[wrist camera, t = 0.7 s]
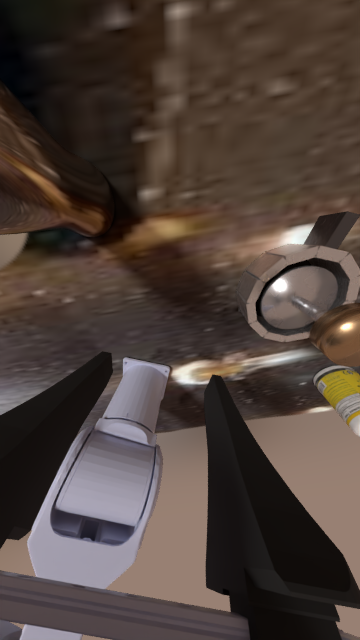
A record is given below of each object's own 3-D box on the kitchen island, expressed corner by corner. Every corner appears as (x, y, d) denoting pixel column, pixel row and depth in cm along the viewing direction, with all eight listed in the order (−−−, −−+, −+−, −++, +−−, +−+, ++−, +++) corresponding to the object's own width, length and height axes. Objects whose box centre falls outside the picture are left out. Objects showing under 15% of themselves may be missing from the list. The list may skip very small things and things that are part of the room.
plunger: (304, 331, 15) (370, 388, 10) (249, 319, 15) (282, 369, 10) (350, 274, 12) (487, 306, 7) (281, 258, 12) (359, 276, 6)
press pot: (291, 328, 19) (313, 348, 16) (226, 314, 19) (233, 331, 15) (362, 229, 13) (421, 227, 10) (269, 207, 13) (296, 196, 10)
